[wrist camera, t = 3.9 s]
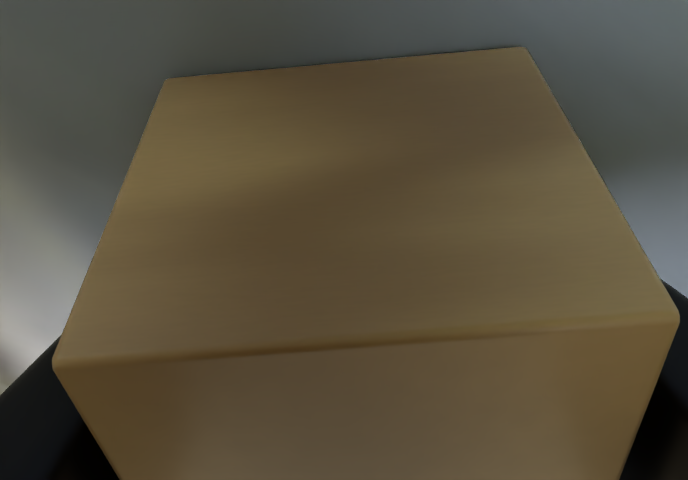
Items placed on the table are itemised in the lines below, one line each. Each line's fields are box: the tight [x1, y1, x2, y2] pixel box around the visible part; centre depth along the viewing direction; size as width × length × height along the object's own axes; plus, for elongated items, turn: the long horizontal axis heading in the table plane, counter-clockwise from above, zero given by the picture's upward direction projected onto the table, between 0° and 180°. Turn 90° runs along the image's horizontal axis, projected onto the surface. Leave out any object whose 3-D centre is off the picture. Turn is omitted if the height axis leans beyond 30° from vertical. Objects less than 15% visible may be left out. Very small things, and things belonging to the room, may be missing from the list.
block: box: [52, 47, 680, 480], centre depth 7 cm, size 4×4×4 cm
